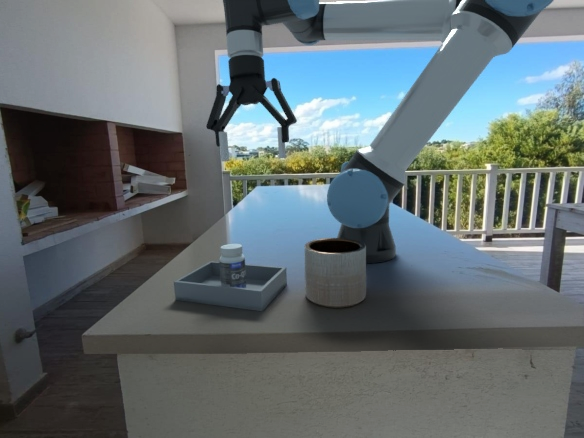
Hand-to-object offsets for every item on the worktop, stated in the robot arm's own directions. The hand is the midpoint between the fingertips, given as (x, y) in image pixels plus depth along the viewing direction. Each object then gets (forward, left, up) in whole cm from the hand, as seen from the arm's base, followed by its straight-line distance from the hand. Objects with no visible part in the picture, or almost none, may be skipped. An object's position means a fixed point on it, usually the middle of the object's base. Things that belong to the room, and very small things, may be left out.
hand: (253, 160), depth 75 cm
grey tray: (-2, +16, -24) cm, 29 cm away
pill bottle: (-2, +16, -24) cm, 29 cm away
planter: (-21, +13, -25) cm, 35 cm away
